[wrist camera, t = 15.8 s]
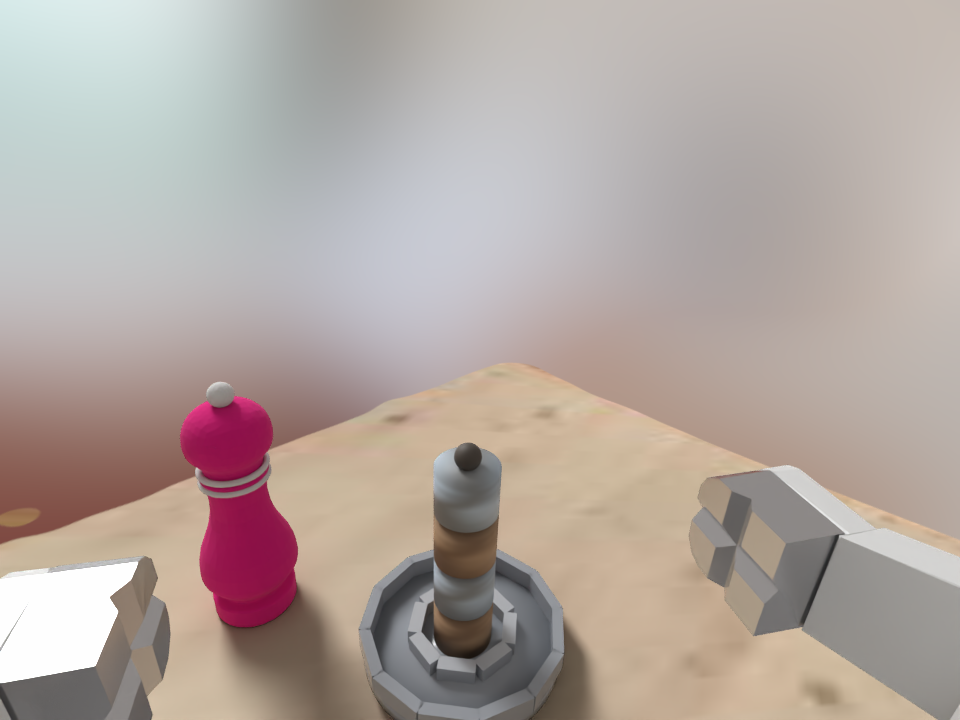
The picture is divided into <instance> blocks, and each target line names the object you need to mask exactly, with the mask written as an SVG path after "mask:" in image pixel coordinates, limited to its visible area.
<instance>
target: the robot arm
mask: <svg viewBox="0 0 960 720" xmlns="http://www.w3.org/2000/svg"><path fill="white" fill-rule="evenodd" d="M698 500H699V502H700V503H701V505H702V507H703V508H702V509H701V510H700V511H699V512H698V514H697V515H696V516H695V517H694V518H693V519H692V522H691V527H690V532H689V541H690V546H691V552H692V555H693V557H694V559H695V561H696V563H697V565H698V567H699V568H700V569H701V571H702V572H703V573H704V575H705V576H706V577H707V578H708V579H710V580H712V581H714V582H715V583H717V584H719V585H721V586H723V587H724V591H725V601H726V603H727V604H728V605H729V606H730V608H731V609H732V610H733V611H734V613H735V614H736V615H737V616H738V618H739V619H740V620H741V621H742V623H743V624H744V625H745V626H746V628H747V629H748V630H749V631H750V633H751V634H752V635H753V636H757V635H762V634H768V633H773V632H778V631H784V630H789V629H794V628H800V627H803V628H802V631H804V632H805V633H807V634H808V635H810V636H811V637H813V638H814V639H816V640H818V641H819V642H821V643H822V644H824V645H825V646H827V647H828V648H830V649H831V650H833V651H834V652H836V653H837V654H839V655H840V656H842V657H843V658H845V659H846V660H848V661H849V662H851V663H852V664H854V665H855V666H857V667H859V668H860V669H862V670H863V671H865V672H866V673H868V674H869V675H871V676H872V677H874V678H875V679H877V680H878V681H880V682H881V683H883V684H884V685H886V686H887V687H889V688H890V689H892V690H893V691H895V692H897V693H898V694H900V695H901V696H903V697H904V698H906V699H907V700H909V701H910V702H912V703H913V704H915V705H916V706H918V707H919V708H921V709H922V710H924V711H925V712H927V713H928V714H930V715H931V716H933V717H934V718H936V719H938V720H960V557H958V556H955V555H953V554H950V553H948V552H945V551H943V550H940V549H937V548H935V547H932V546H930V545H927V544H925V543H922V542H919V541H917V540H914V539H912V538H909V537H907V536H904V535H902V534H899V533H896V532H894V531H891V530H889V529H886V528H880V529H876V528H874V527H873V526H872V525H870V524H869V523H868V522H867V521H865V520H864V519H863V518H861V517H860V516H859V515H858V514H856V513H855V512H854V511H853V510H851V509H850V508H849V507H847V506H846V505H845V504H844V503H842V502H841V501H840V500H838V499H837V498H836V497H835V496H833V495H832V494H831V493H830V492H828V491H827V490H826V489H824V488H823V487H822V486H821V485H819V484H818V483H816V482H815V481H814V480H813V479H812V478H810V477H809V476H808V475H807V474H805V473H804V472H802V471H801V470H800V469H798V468H795V467H792V466H789V465H785V466H779V467H773V468H766V469H761V470H760V471H750V472H743V473H736V474H730V475H723V476H716V477H709V478H707V479H706V480H705V481H704V482H703V483H702V485H701V487H700V490H699V494H698ZM157 579H158V577H157V574H156V571H155V568H154V565H153V562H152V559H151V558H148V557H146V556H139V557H131V558H122V559H114V560H105V561H97V562H88V563H80V564H71V565H63V566H57V567H55V568H44V569H36V570H27V571H18V572H10V573H9V574H7V575H5V576H4V577H2V578H1V579H0V720H151V719H152V715H153V714H152V711H151V708H150V705H149V702H148V699H147V696H148V695H149V694H150V693H151V692H152V690H153V689H154V688H155V687H156V686H157V685H158V684H159V683H160V682H161V681H162V680H163V676H164V672H165V668H166V665H167V661H168V655H169V644H170V624H169V616H168V612H167V608H166V604H165V603H164V602H163V601H161V600H160V599H158V598H156V597H155V596H153V595H152V594H153V591H154V588H155V585H156V582H157Z"/></svg>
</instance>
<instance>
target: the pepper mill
mask: <svg viewBox="0 0 960 720" xmlns="http://www.w3.org/2000/svg"><path fill="white" fill-rule="evenodd" d="M206 398H207V402H205V403H203V404H201V405H199V406H198V407H196V408H195V409H194V410H193V411H192V412H191V413H190V414H189V415H188V416H187V418H186V419H185V421H184V423H183V425H182V428H181V434H180V441H181V448H182V452H183V454H184V456H185V458H186V459H187V461H188V462H189V463H190V464H192V465H193V466H195V467H196V471H195V475H196V478H197V479H198V487H199V489H200V490H201V491H202V492H203V493H204V494H206V495H207V496H208V499H209V505H210V516H209V523H208V527H207V530H206V533H205V536H204V539H203V542H202V545H201V552H200V559H199V560H200V572H201V577H202V580H203V582H204V584H205V586H206V587H207V588H208V589H209V590H210V591H211V592H213V596H214V601H215V606H216V610H217V613H218V615H219V617H220V618H221V619H222V620H223V621H224V622H226V623H228V624H229V625H232V626H236V627H254V626H258V625H262V624H265V623H267V622H269V621H271V620H273V619H275V618H276V617H278V616H279V615H280V614H282V613H283V612H284V611H285V610H286V609H287V608H288V607H289V605H290V604H291V603H292V601H293V599H294V597H295V594H296V589H297V586H296V578H295V571H294V566H295V564H296V561H297V556H298V546H297V542H296V538H295V535H294V532H293V530H292V529H291V527H290V525H289V524H288V522H287V521H286V520H285V519H284V517H283V516H282V515H281V514H280V513H279V512H278V511H277V510H276V508H275V507H274V505H273V503H272V501H271V499H270V496H269V492H268V489H267V480H268V478H269V476H270V474H271V465H270V457H269V454H268V453H267V451H268V450H269V448H270V446H271V444H272V439H273V428H272V424H271V421H270V418H269V416H268V414H267V413H266V411H265V410H264V409H263V408H262V407H261V406H260V405H259V404H257V403H255V402H254V401H252V400H250V399H247V398H243V397H237V396H235V393H234V390H233V388H232V387H231V386H230V385H229V384H228V383H225V382H217V383H214V384H212V385H211V386H210V387H209V388H208V390H207V392H206Z"/></svg>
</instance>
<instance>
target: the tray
mask: <svg viewBox="0 0 960 720" xmlns="http://www.w3.org/2000/svg"><path fill="white" fill-rule="evenodd" d="M359 640H360V647H361V651H362V654H363V658H364V664H365V670H366V675H367V679H368V681H369V684H370V687H371V689H372V691H373V693H374V695H375V697H376V699H377V700H378V702H379V703H380V704H381V706H382V707H383V708H384V710H385V711H386V712H387V713H388V714H389V715H390V716H391V717H392V718H393V719H394V720H530V719H531V718H532V717H533V716H534V715H535V714H536V713H537V712H538V711H539V710H540V708H541V707H542V706H543V704H544V703H545V702H546V700H547V699H548V697H549V695H550V693H551V691H552V689H553V687H554V684H555V681H556V679H557V676H558V674H559V673H560V671H561V670H562V665H563V658H564V633H563V608H562V606H561V605H560V603H559V602H558V600H557V599H556V597H555V596H554V594H553V593H552V592H551V590H550V589H549V587H548V586H547V584H546V583H545V581H544V580H543V578H542V577H541V576H540V574H539V573H538V571H536V570H535V569H533V568H531V567H530V566H528V565H526V564H524V563H522V562H520V561H519V560H517V559H515V558H513V557H511V556H510V555H508V554H506V553H504V552H502V551H500V550H499V549H498V550H496V566H495V582H494V598H493V614H492V630H491V640H490V643H489V645H488V647H487V648H486V650H485V651H484V652H483V653H481V654H480V655H478V656H476V657H474V658H471V659H465V658H456V657H449V656H447V655H445V654H444V653H442V652H441V651H440V650H439V648H438V647H437V645H436V643H435V640H434V550H430V551H427V552H423V553H420V554H416V555H413V556H409V558H408V557H407V558H406V559H405V560H404V561H403V562H402V563H400V564H399V565H398V566H397V567H396V568H395V569H393V570H392V571H391V572H390V573H389V574H388V575H386V576H385V577H384V578H383V579H382V580H381V581H379V582H378V583H377V584H376V585H375V586H374V587H373V590H372V593H371V596H370V598H369V601H368V604H367V607H366V610H365V613H364V616H363V618H362V621H361V624H360V627H359Z"/></svg>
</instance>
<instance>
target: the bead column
mask: <svg viewBox="0 0 960 720" xmlns="http://www.w3.org/2000/svg"><path fill="white" fill-rule="evenodd" d="M501 471H502V466H501V462H500V460H499V459H498V458H497V457H496V456H495V455H494V454H493V453H491V452H489V451H487V450H484V449H481V448H479V447H478V446H476V445H475V444H473V443H463V444H461V445H460V446H458V447H457V448H452V449H449V450H447V451H445V452H443V453H441V454H440V455H439V456H438V457H437V458H436V460H435V462H434V640H435V643H436V645H437V647H438V648H439V650H440V651H441V652H442V653H444V654H445V655H447V656H449V657H456V658H465V659H471V658H474V657H476V656H478V655H480V654H481V653H483V652H484V651H485V650H486V648H487V647H488V645H489V643H490V640H491V630H492V614H493V598H494V582H495V566H496V550H497V535H498V519H499V503H500V487H501Z"/></svg>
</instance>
